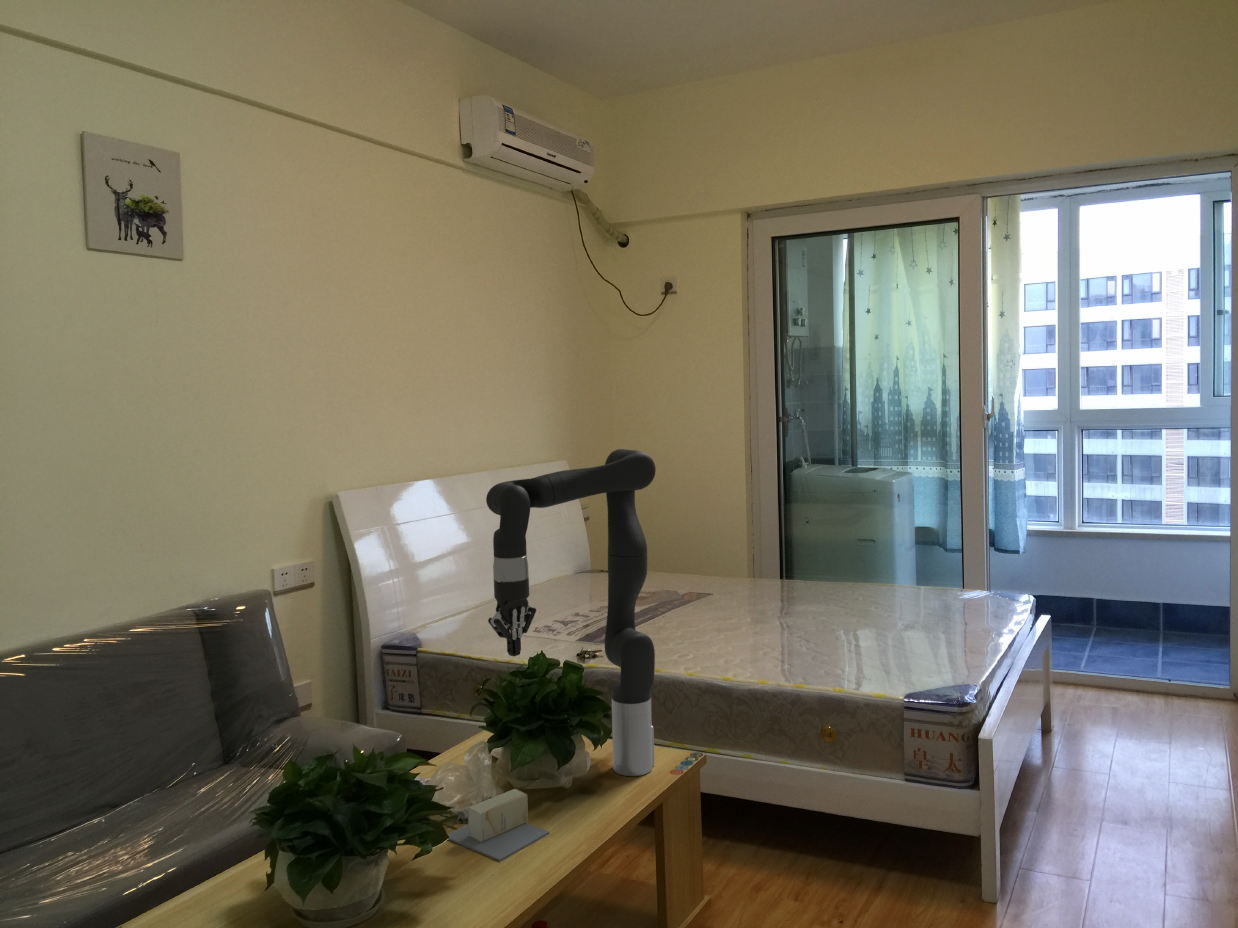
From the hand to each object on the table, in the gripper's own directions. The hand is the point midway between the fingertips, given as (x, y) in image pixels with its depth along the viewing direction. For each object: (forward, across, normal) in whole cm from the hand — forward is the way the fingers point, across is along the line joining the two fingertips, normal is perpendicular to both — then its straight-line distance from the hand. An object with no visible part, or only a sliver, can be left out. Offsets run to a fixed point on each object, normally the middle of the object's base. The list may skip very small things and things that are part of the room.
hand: (514, 654), depth 208 cm
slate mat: (+32, +15, +8) cm, 36 cm away
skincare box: (+29, +7, +7) cm, 31 cm away
